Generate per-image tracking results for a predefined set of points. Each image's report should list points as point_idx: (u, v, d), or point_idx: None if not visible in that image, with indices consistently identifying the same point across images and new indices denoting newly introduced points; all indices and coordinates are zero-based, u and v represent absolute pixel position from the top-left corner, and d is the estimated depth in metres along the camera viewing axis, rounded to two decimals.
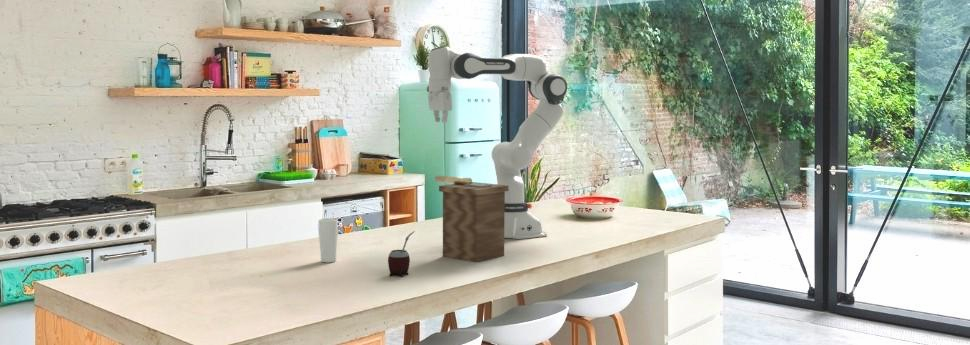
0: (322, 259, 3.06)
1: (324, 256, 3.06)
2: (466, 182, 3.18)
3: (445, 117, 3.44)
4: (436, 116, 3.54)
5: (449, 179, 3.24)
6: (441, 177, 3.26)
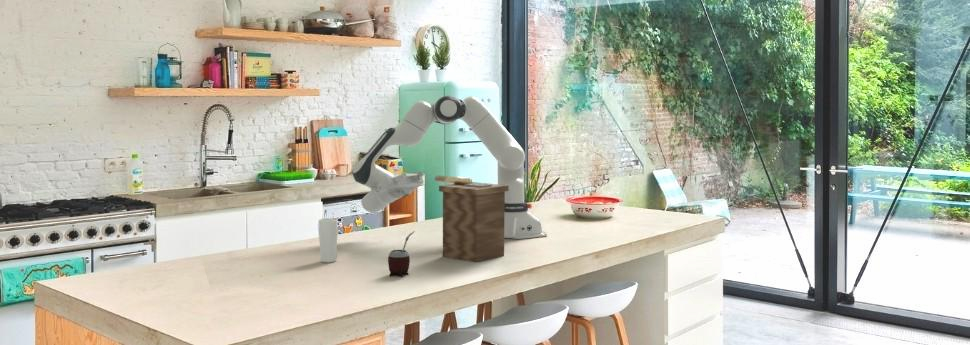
0: (322, 259, 3.06)
1: (324, 256, 3.06)
2: (466, 182, 3.18)
3: (399, 177, 3.34)
4: None
5: (449, 179, 3.24)
6: (441, 177, 3.26)
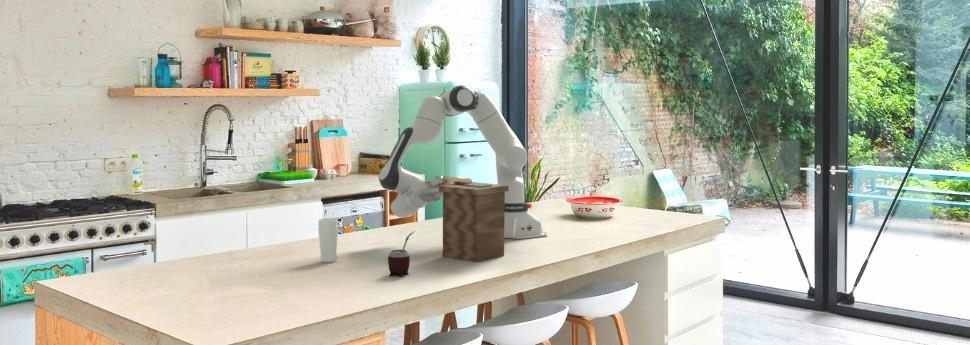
0: (322, 259, 3.06)
1: (324, 256, 3.06)
2: (466, 182, 3.18)
3: (436, 180, 3.25)
4: None
5: (449, 179, 3.24)
6: None
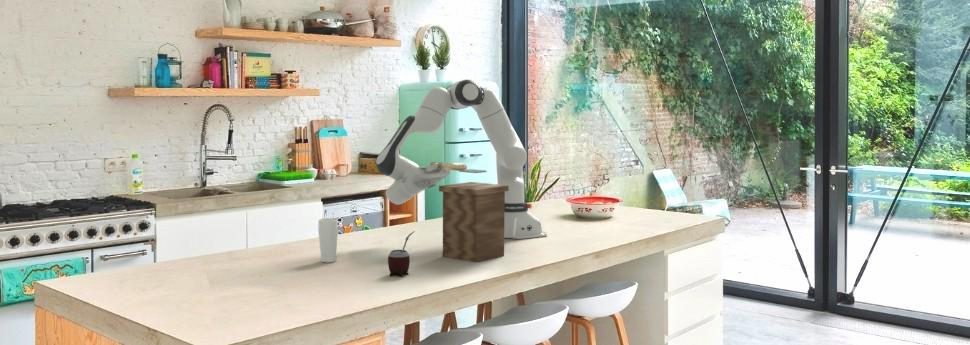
0: (322, 259, 3.06)
1: (324, 256, 3.06)
2: (461, 168, 3.19)
3: (431, 166, 3.26)
4: None
5: (444, 165, 3.25)
6: None
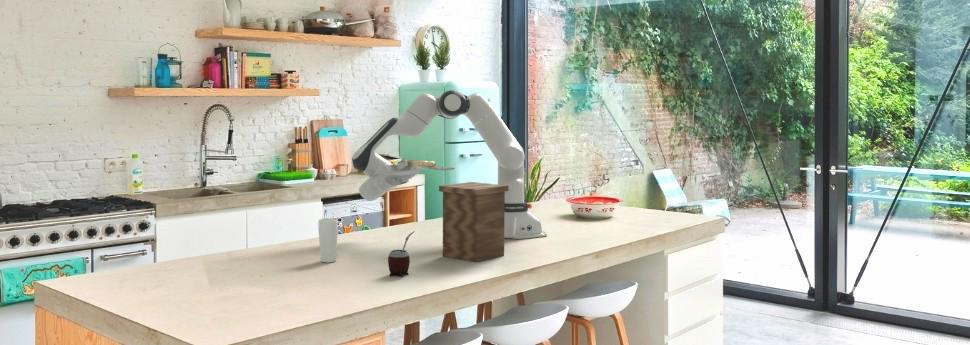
0: (322, 259, 3.06)
1: (324, 256, 3.06)
2: (430, 165, 3.29)
3: (402, 164, 3.36)
4: None
5: (413, 162, 3.34)
6: None
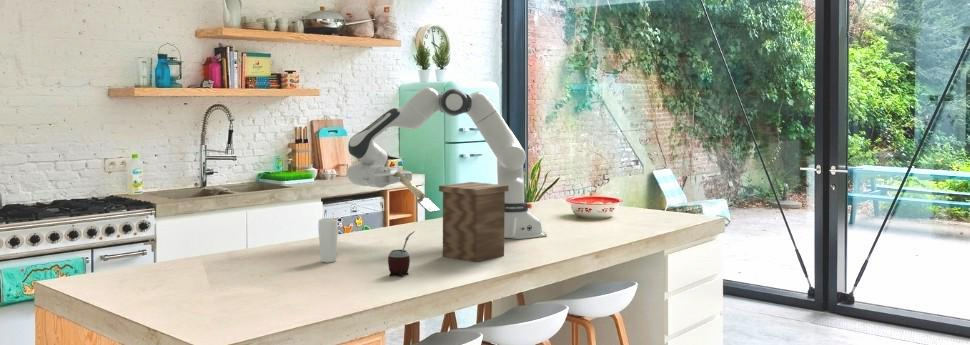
0: (322, 259, 3.06)
1: (324, 256, 3.06)
2: (419, 197, 3.34)
3: (394, 178, 3.39)
4: None
5: (406, 183, 3.38)
6: (400, 176, 3.40)
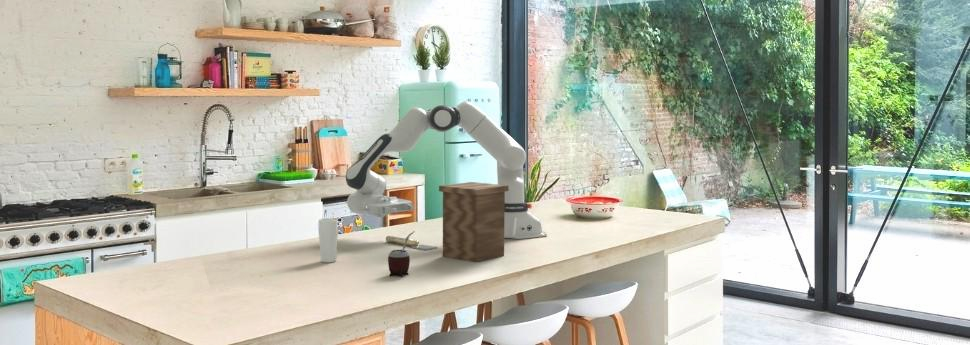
0: (322, 259, 3.06)
1: (324, 256, 3.06)
2: (413, 244, 3.38)
3: (390, 209, 3.38)
4: None
5: (398, 240, 3.43)
6: (391, 238, 3.46)
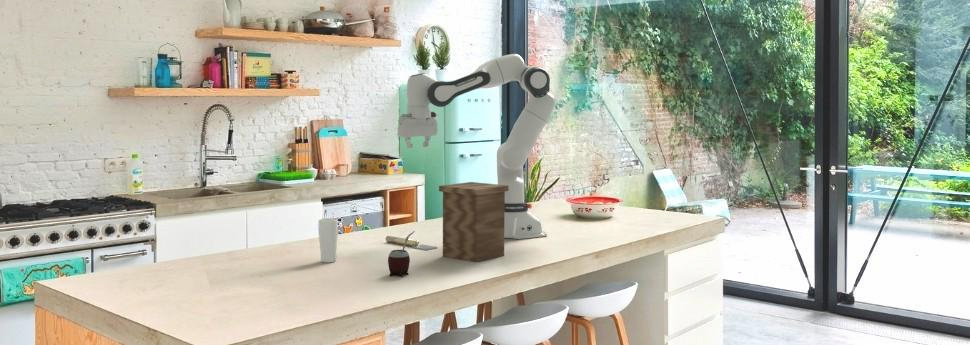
0: (322, 259, 3.06)
1: (324, 256, 3.06)
2: (413, 244, 3.38)
3: (408, 143, 3.51)
4: (425, 141, 3.60)
5: (398, 240, 3.43)
6: (391, 238, 3.46)
